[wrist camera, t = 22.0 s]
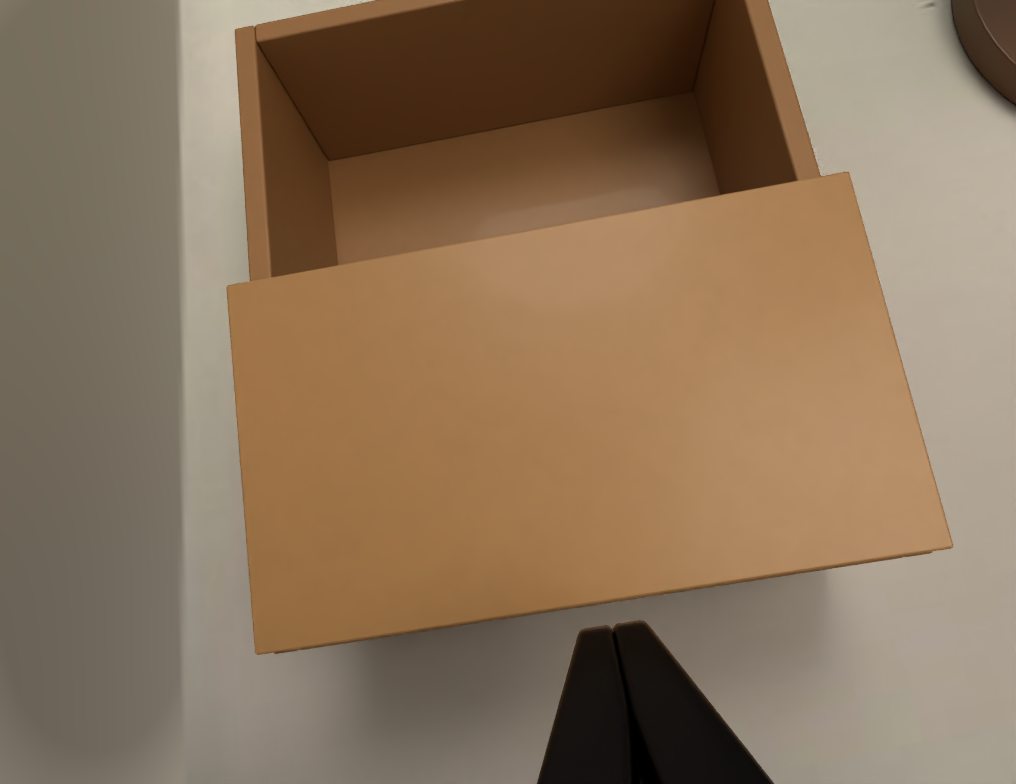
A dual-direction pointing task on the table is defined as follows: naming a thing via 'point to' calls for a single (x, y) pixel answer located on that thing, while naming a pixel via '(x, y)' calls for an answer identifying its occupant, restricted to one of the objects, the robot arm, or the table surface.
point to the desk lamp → (990, 39)
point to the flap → (574, 418)
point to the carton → (502, 124)
